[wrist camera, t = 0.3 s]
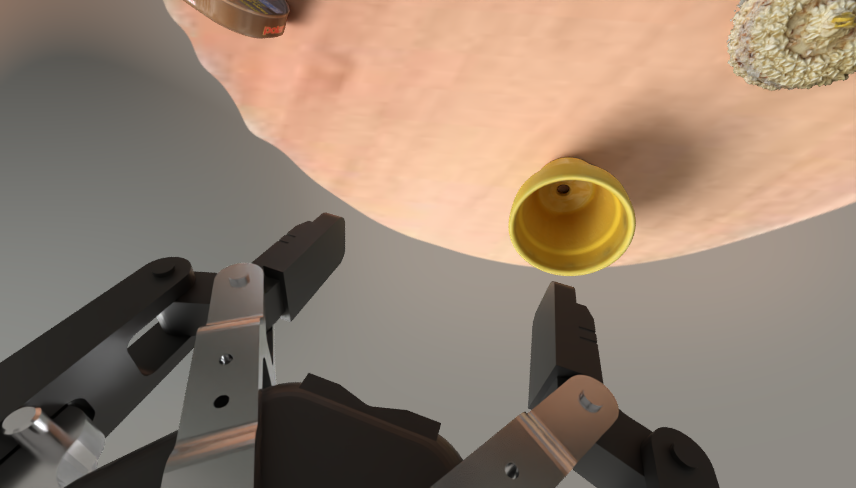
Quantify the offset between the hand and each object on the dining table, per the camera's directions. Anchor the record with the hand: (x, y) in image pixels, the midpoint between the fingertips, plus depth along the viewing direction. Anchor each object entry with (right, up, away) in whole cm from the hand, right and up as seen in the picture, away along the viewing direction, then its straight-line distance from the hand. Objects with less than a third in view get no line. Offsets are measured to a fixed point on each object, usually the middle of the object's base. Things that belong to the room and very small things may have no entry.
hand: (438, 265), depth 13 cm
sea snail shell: (+28, +18, +13) cm, 36 cm away
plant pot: (+15, +7, +25) cm, 30 cm away
